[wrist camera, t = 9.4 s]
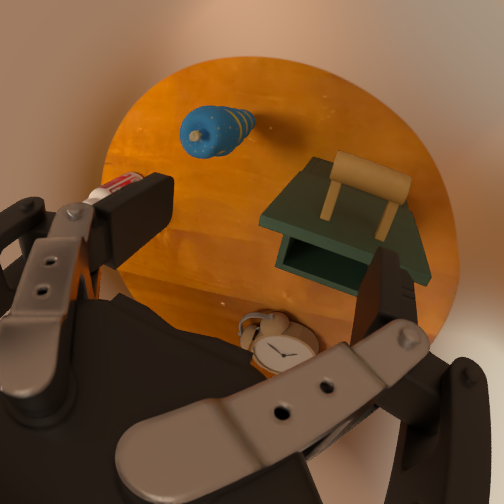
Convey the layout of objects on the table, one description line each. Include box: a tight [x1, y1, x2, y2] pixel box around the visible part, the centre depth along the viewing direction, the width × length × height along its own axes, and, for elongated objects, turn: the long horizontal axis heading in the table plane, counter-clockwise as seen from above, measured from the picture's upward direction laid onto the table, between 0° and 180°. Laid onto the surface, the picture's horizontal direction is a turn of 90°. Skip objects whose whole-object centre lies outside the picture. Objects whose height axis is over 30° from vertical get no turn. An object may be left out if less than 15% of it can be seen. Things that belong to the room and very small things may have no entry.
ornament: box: [180, 106, 256, 159], centre depth 31 cm, size 5×5×15 cm
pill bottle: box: [83, 172, 143, 205], centre depth 44 cm, size 6×6×11 cm
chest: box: [275, 157, 409, 297], centre depth 36 cm, size 12×12×8 cm
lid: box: [259, 150, 432, 286], centre depth 23 cm, size 12×12×6 cm
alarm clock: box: [238, 312, 319, 374], centre depth 52 cm, size 11×5×15 cm
